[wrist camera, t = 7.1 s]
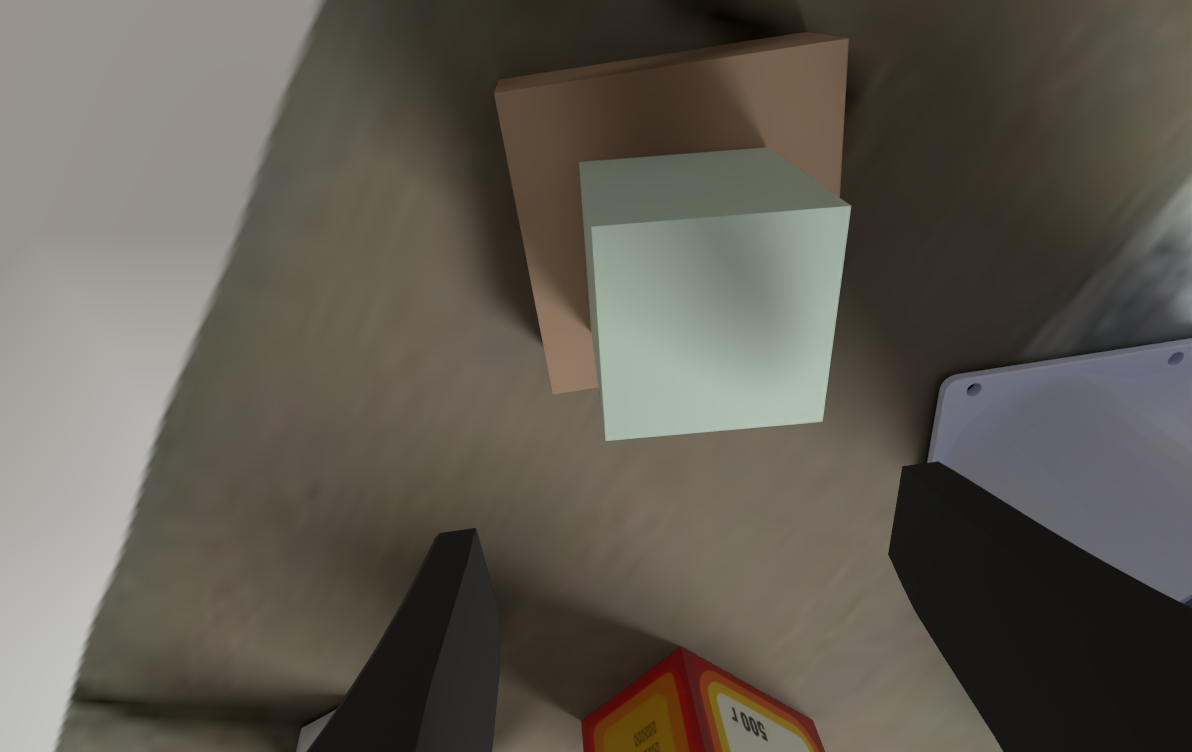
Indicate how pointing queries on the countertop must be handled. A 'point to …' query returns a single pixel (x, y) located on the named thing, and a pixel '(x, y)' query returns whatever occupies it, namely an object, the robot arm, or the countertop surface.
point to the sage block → (710, 290)
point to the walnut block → (653, 148)
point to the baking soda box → (696, 714)
